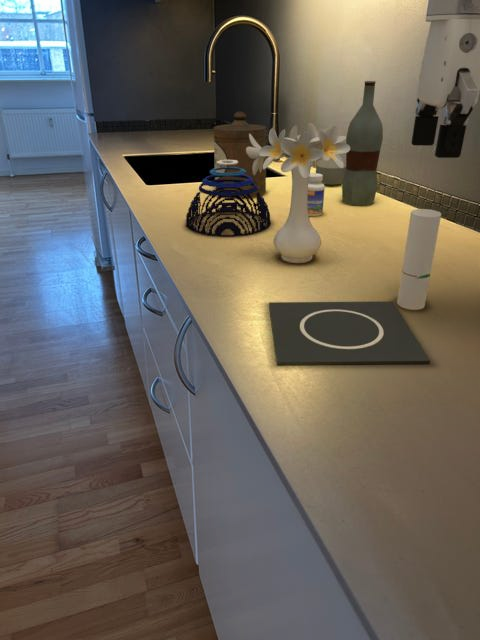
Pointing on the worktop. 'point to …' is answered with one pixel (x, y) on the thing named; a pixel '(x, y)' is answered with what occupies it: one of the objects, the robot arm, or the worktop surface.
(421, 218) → the tube
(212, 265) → the worktop surface
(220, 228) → the decorative bowl
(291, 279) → the worktop surface
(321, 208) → the pill bottle
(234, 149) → the wooden container
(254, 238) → the worktop surface
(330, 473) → the worktop surface
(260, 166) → the flower vase
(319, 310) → the slate board
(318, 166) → the smart speaker
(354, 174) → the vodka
